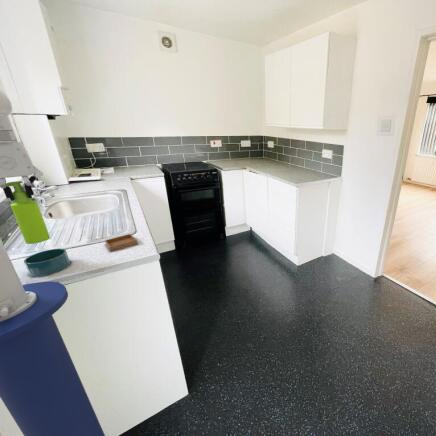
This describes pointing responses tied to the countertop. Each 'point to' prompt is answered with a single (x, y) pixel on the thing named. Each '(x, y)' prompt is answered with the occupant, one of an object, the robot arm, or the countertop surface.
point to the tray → (120, 242)
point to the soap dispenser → (28, 215)
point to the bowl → (47, 262)
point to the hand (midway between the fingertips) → (21, 198)
